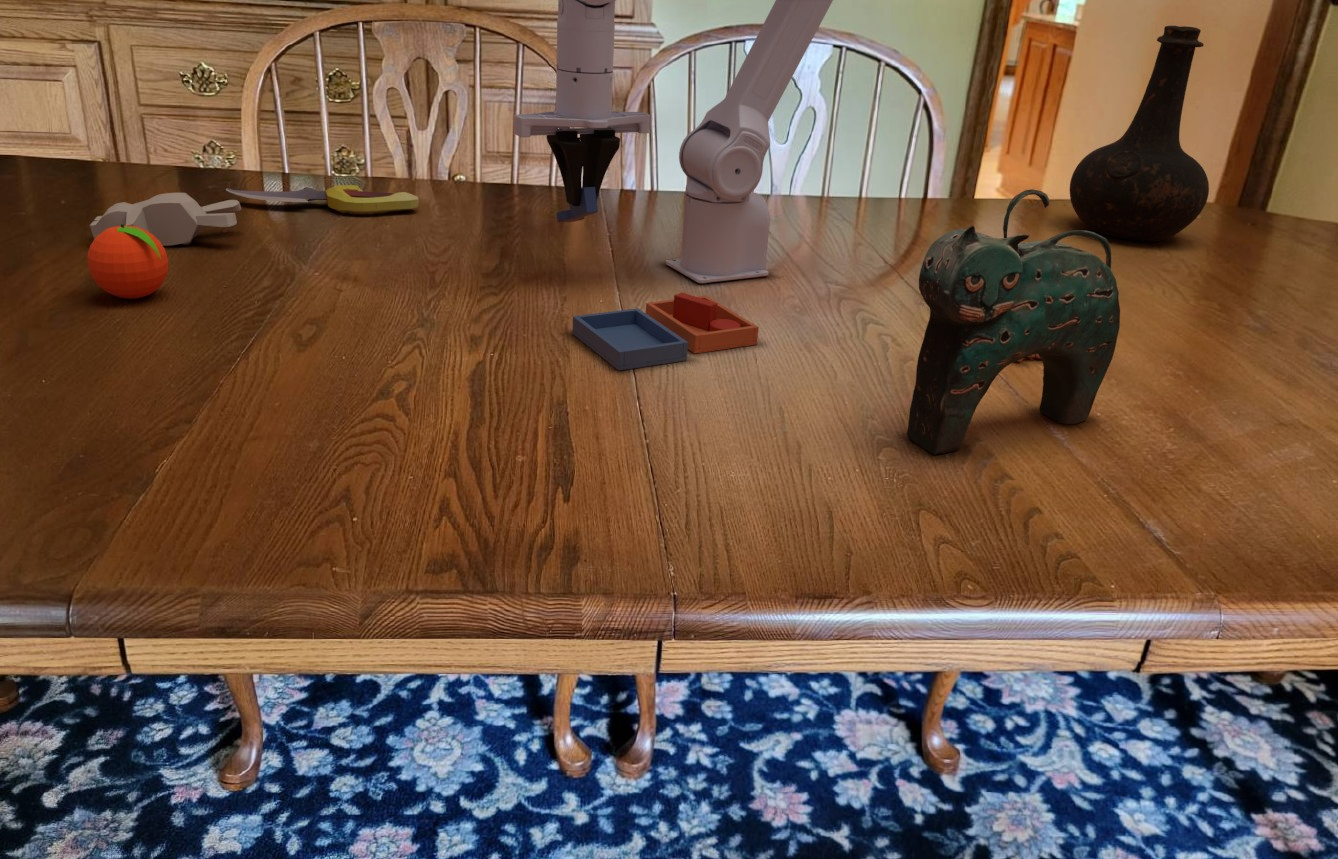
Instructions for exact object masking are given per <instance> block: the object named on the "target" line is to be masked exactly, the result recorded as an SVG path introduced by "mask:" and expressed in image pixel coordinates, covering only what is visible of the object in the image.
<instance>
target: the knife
mask: <svg viewBox="0 0 1338 859" xmlns="http://www.w3.org/2000/svg"><path fill="white" fill-rule="evenodd" d="M225 191H226V192H228V193H230V194H234V195H236V196H239V197H244V198H247V199H252V200H253V199H254V200H259V201H260V200H261V201H268V202H269V201H271V202H281V203H282V202H284V203H285V202H286V203H309V202H312V201H326V204H327V206H328V208H330V209H332V210H333V211H336V212H338V213H342V214H347V213H352V214H379V213H389V212H390V213H391V212H401V211H408V210H413V209H416V208H418V206H419V204H420V203H419V196H418V195H416V194H415V195H414V194H412V193H410V192H406V191H401V192H382V191H381V192H380V191H379V192H378V191H364V190H362V189H361V188H360V187H359V186H358V185H357V184H356V185H355V184H354V185H353V184H345V185H344V184H343V185H340V184H339V185H334V186H332V187H329V188H327V189H326V190H317V189H314V188H312V187H307V186H305V187H303V188H302V189H298V190H289V191H276V190H275V191H273V190H272V191H270V190H267V191H265V190H264V191H263V190H262V191H261V190H239V189H238V190H237V189H231V188H228V187H226V189H225Z"/></svg>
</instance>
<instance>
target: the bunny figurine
mask: <svg viewBox="0 0 1338 859" xmlns="http://www.w3.org/2000/svg"><path fill="white" fill-rule="evenodd" d="M241 210H242V207H241V203H240V201H238V199H228V200H224V201H223V200H222V201H220V202H219V201H218V202H215V203H211V204H207V205H203V206H200V204H199V203H198V202H197V201H196V200H195V199H194V198H193V197H191V196H190V195H189V194H188V193H186V192H165V193H160V194H156V195H154V196H152V197H151V198H148V199H145V200H142V201H138V202H135V203H129V202H124V201H122V202H117V203H115V204H113V205H112V206H110V207H108V208H107V210H106V211H105V212H104V213H103V215H98V216H96V217H95V218H94V219H93V221H92V222H91V223H90V224H89V227H90V232H91V235H92V237H93V240H94V239H95V238H96V237H97V236H98V235H99V234H101V233H102V232H103V231H105V230H106V229H108V228H111V227H116V226H121V224H122V225H124V226H136V227H139V228H142V229H144V230H146V231H147V232H149V233H151V234H152V235H154V236H155V237H156V238H157V239H158V240H159V241H160V242H161V244H162V246H163V247H165V246H176V245H181V244H182V245H184V246H188V245H190V244H191V243H192V241H193V239H194V238H196V237H197V236H198V235H199V234H200V233H201V232H202V231H203V230H204V228H205V227H206V226H207V227H218V228H229V227H233V226H235V225H237V224H238V221H237V216H236V212H238V211H241Z"/></svg>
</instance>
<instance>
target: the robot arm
mask: <svg viewBox="0 0 1338 859" xmlns="http://www.w3.org/2000/svg"><path fill="white" fill-rule="evenodd" d="M616 1H617V0H557V3H558V4H557V20H556V73H555V74H556V78H555V80H556V82H555V84H556V85H555V87H556V88H555V93H556V94H555V110H552V111H543V112H533V113H517V114H514V115H513V134H514V135H516V136H517V137H519V138H530V137H534V136H546V141H547V144H548V145H549V148H550V149H551V152H552V154H553V156H554V158H555V161H556V163H557V166H558V169H559V173H560V175H561V180H562V183H563V184H562V185H563V188H564V193H565V201H566V203H568V205H569V204H571V205H573V206H580V201H581V189H582V188H584V187H595V192H596V199H597V200H598V199H599V195H600V191H601V187H602V184H603V182H604V179H605V175H606V173H607V170H608V168H609V166H610V164H611V162H612V160H613V159H614V157H615V156H616V154H617V152H618V151H619V149H620V146H621V138H620V137H618V136H616V134H627V133H629V134H630V133H638V134H649V133H650V124H651V114H649V113H646V112H643V111H618V110H613V109H612V107H613V87H614V86H613V82H614V81H613V80H614V56H615V55H614V53H615V31H616V30H615V26H616V25H615V15H616V14H615V13H616V12H615V11H616ZM833 1H834V0H775V1H774V3H773V4H772V6H771V9H770V11H769V12H768V14H767V17H766V18H765V20H764V22H763V24H762V26H761V27H760V30H759V32H758V33H757V35H756V38H755V39H754V41H753V42H752V45H751V47H750V49H749V51H748V53H747V54H746V57H745V58H744V60H743V62H742V64H741V66H740V68H739V70H738V72H737V74H736V76H735V78H734V80H733V81H732V84H731V85H730V87H729V89H728V91H727V93H726V95H725V97H724V98H723V99H722V100H721V101H719V103H717V104H716V105H714V106H713V107H711V108H710V109H709V110H707V112H706V113H705V115H704V117H703V119H702V121H701V122H700V123H699V125H697V127H695V128H694V129H693V130H691V131H690V132H689V133H687V135H686V136H685V137H684V139H683V141H682V143H681V145H680V146H679V152H678V160H679V165H680V168H681V171H682V172H683V173H684V175H685V176H686V177H687V183H686V185H685V190H684V205H683V206H684V207H683V221H682V232H681V233H682V234H681V235H682V236H681V247H680V248H681V249H680V258H671V259H666V260H665V265H666V266H669V267H670V268H672V269H674V270H675V271H677V272H678V273H681V274H683V275H684V276H686V277H687V278H688V279H691V280H693V281H694V282H696V283H698V284H706V283H716V282H725V281H732V280H733V281H734V280H743V279H750V278H759V277H767V276H769V271H768V270H766V262H767V253H768V245H769V244H768V243H769V236H770V235H769V234H770V226H771V225H770V224H771V215H770V210H769V206H768V203H767V201H766V200H765V198H764V197H763V196H762V195H761V194H759V193H757V192H753V191H755V189H756V188H757V187H758V185H759V183H760V182H761V179H762V176H763V170H764V169H763V168H764V160H765V157H766V155H767V153H768V150H769V149H770V147H771V136H770V130H769V129H770V128H769V122H770V119H771V117H772V116H773V114H774V112H775V110H776V108H777V107H778V104H779V102H780V101H781V100H782V99H781V98H782V97H783V95H784V93H785V91H786V90H787V87H788V86H789V83H790V82H791V80H792V78H793V76H794V74H795V72H796V71H797V69H798V67H799V65H800V64H801V61H802V59H803V58H804V56H805V54H806V52H807V50H808V48H809V46H810V44H811V43H812V41H813V39H814V37H815V35H816V33H817V31H818V30H819V27H820V26H821V23H822V22H823V20H824V18H825V16H826V14H827V13H828V10H829V9H830V7H831V5H832V3H833ZM578 135H579V136H578Z"/></svg>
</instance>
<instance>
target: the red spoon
mask: <svg viewBox="0 0 1338 859" xmlns="http://www.w3.org/2000/svg"><path fill="white" fill-rule="evenodd" d="M673 300H674V306H673V318H675V319H676V320H678V321H679V322H682V323H685V324H688V325H691V326H694V327H698V328H701V329H704V330H707V331H709V332H712V331H719V330H726V329H734V328H741V325H740V323H738V322H736V321H734V320H729V319H716V315H717V303H715V302H712V301H709V300H705V299H702V298H699V296H696V295H692V294H689V293H685V292H679V293H676V294H674V295H673Z"/></svg>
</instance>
